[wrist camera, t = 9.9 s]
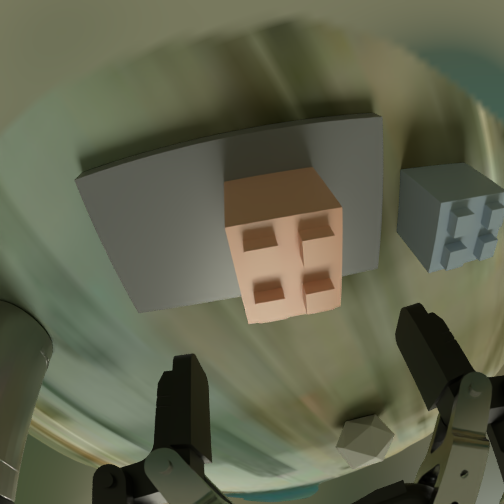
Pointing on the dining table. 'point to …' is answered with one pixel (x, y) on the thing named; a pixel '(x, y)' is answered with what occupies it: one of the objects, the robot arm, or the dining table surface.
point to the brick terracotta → (285, 243)
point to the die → (364, 441)
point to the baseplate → (212, 203)
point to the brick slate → (449, 214)
